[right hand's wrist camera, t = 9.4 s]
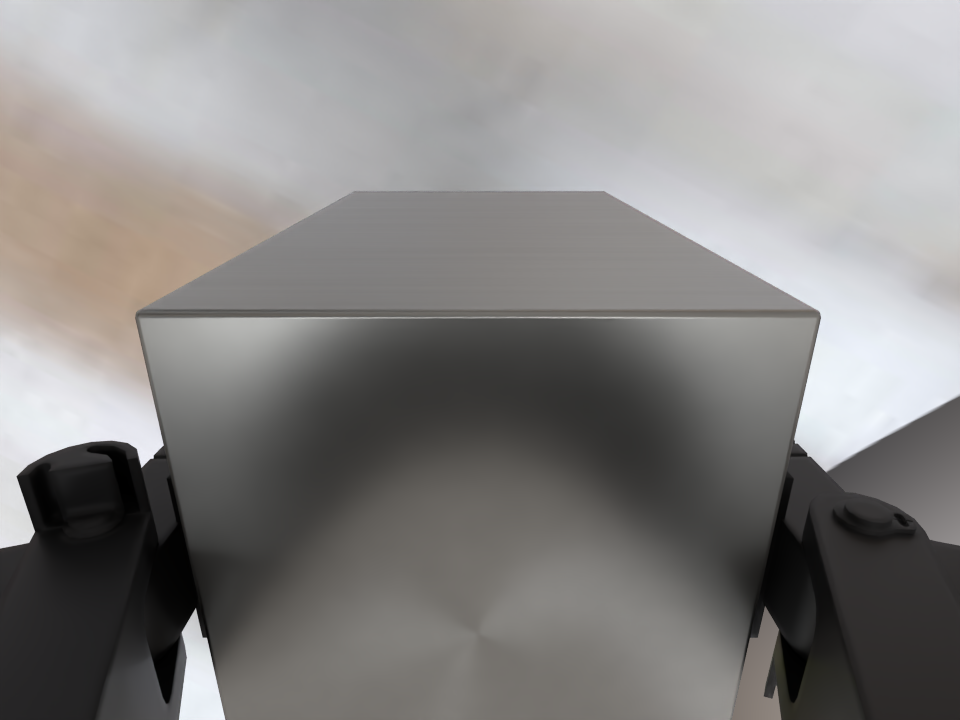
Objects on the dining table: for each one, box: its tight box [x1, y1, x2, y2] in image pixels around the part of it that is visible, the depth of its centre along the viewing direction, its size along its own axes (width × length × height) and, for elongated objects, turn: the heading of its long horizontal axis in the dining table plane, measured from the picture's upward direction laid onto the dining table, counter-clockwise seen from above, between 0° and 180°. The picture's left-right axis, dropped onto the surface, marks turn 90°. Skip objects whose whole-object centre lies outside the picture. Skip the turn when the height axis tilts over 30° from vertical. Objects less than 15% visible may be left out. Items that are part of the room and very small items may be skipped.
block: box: [135, 191, 821, 720], centre depth 12 cm, size 8×7×11 cm
